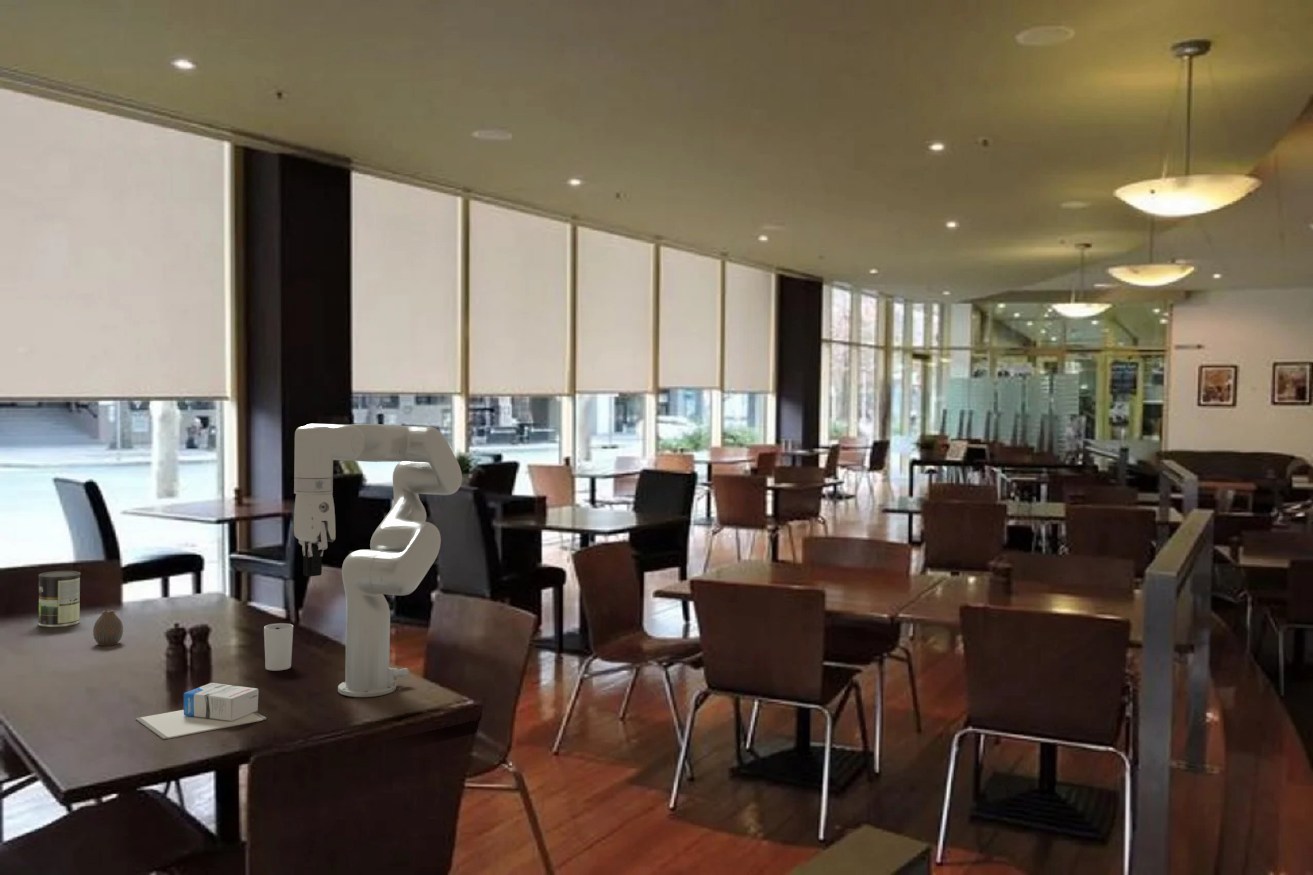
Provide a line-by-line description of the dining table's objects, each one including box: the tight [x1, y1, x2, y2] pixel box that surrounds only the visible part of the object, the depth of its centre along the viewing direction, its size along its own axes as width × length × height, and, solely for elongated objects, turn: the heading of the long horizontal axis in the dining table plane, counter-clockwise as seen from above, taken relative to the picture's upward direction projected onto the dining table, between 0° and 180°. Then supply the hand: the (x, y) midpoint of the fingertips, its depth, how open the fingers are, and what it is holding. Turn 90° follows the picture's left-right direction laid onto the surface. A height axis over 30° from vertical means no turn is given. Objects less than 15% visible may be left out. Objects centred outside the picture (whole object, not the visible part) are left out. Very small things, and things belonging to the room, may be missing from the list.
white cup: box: [263, 623, 294, 672], centre depth 255 cm, size 7×7×10 cm
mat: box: [135, 709, 267, 740], centre depth 213 cm, size 20×16×1 cm
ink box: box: [183, 682, 259, 721], centre depth 216 cm, size 9×5×12 cm
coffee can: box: [38, 570, 81, 628], centre depth 297 cm, size 10×10×14 cm
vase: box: [92, 609, 124, 647], centre depth 274 cm, size 7×7×9 cm
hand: (312, 575), depth 217 cm, fingers closed
